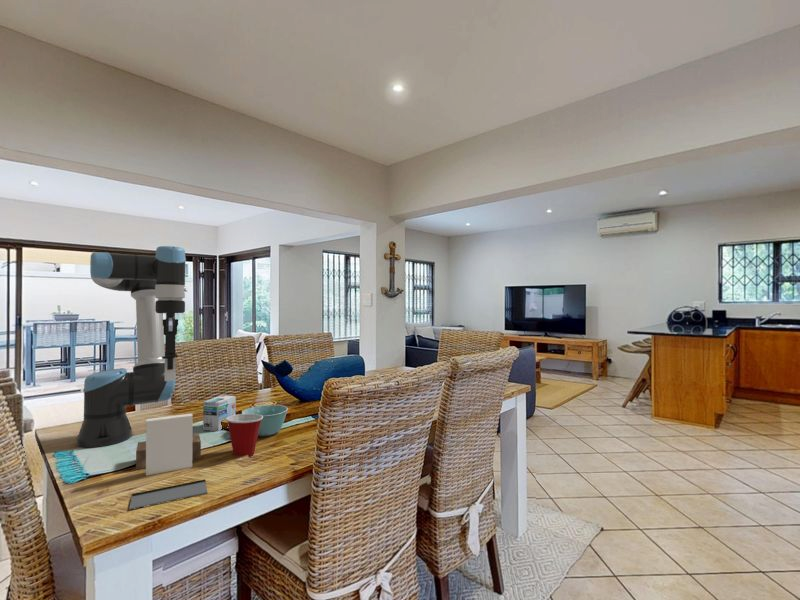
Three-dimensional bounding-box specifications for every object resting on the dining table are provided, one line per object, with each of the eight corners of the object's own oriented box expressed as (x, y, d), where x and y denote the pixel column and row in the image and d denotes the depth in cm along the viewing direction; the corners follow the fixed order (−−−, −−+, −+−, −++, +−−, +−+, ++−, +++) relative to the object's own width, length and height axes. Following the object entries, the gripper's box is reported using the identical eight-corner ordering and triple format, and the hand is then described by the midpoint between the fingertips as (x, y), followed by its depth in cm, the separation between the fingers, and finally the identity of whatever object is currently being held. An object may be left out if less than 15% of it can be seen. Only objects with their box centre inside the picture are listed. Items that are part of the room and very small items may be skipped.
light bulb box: (218, 432, 144) (218, 402, 144) (202, 431, 145) (202, 401, 145) (236, 423, 155) (236, 395, 155) (220, 422, 156) (221, 394, 156)
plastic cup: (270, 451, 126) (270, 413, 126) (244, 464, 116) (244, 423, 116) (244, 446, 130) (245, 409, 130) (217, 458, 120) (217, 418, 120)
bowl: (233, 433, 143) (233, 410, 143) (272, 423, 155) (273, 402, 155) (255, 443, 133) (255, 419, 133) (296, 432, 145) (296, 409, 145)
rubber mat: (129, 510, 90) (129, 508, 90) (135, 476, 108) (135, 475, 108) (207, 493, 98) (207, 491, 98) (201, 464, 116) (201, 463, 116)
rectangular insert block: (145, 477, 106) (146, 421, 106) (146, 474, 108) (146, 419, 108) (192, 469, 112) (192, 415, 112) (191, 465, 114) (192, 413, 114)
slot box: (135, 473, 110) (136, 451, 110) (137, 462, 117) (137, 442, 117) (200, 461, 118) (200, 441, 118) (198, 452, 125) (198, 433, 125)
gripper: (186, 299, 113) (185, 383, 113) (184, 299, 124) (183, 375, 124) (154, 299, 109) (154, 385, 109) (155, 299, 120) (155, 377, 120)
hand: (169, 380), depth 116 cm, fingers closed
